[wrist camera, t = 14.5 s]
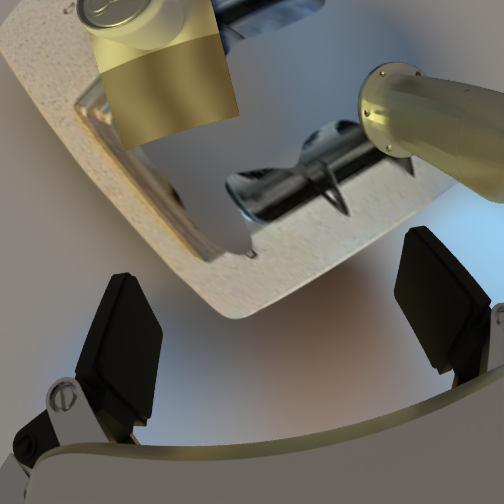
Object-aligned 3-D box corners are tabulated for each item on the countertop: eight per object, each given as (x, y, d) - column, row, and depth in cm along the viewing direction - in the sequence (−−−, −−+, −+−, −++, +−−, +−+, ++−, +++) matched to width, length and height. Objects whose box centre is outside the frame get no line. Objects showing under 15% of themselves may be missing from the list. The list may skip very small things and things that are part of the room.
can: (116, 12, 19) (63, -14, 9) (174, -12, 18) (150, -58, 8) (132, 60, 22) (82, 53, 12) (192, 36, 22) (174, 9, 12)
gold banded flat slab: (199, -39, 17) (198, -44, 16) (238, 114, 29) (239, 115, 27) (88, 1, 18) (82, -1, 16) (128, 147, 29) (123, 150, 28)
